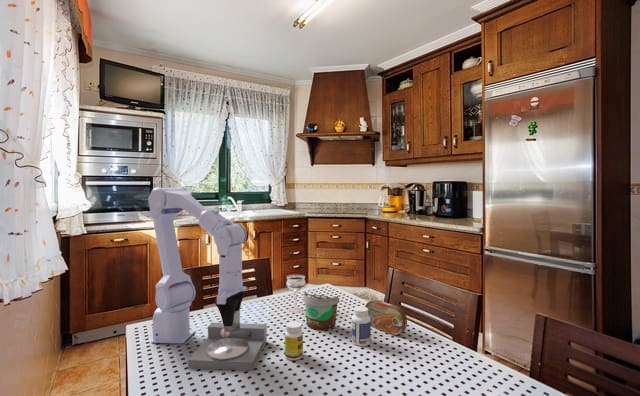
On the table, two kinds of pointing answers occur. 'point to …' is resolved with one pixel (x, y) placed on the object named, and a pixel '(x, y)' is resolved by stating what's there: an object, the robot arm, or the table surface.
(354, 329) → the pill bottle
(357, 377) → the table surface
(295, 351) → the supplement bottle
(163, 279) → the robot arm
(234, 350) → the pan
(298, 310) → the wineglass
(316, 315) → the food container
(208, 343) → the scale
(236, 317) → the cylinder
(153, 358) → the table surface
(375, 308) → the tin
